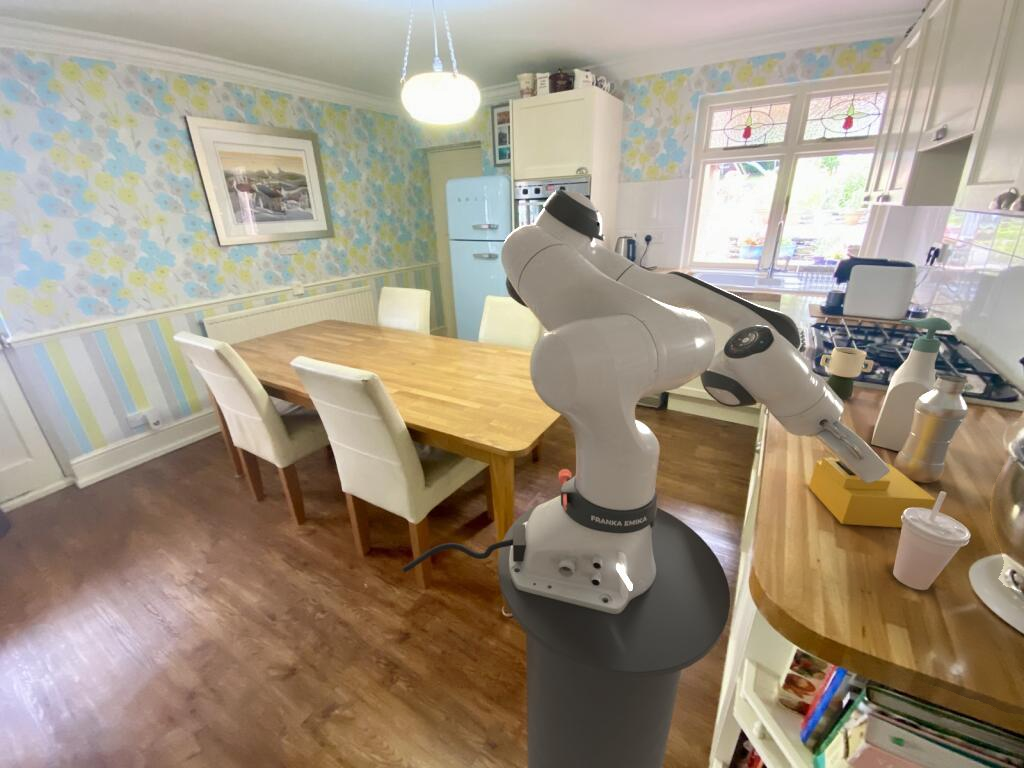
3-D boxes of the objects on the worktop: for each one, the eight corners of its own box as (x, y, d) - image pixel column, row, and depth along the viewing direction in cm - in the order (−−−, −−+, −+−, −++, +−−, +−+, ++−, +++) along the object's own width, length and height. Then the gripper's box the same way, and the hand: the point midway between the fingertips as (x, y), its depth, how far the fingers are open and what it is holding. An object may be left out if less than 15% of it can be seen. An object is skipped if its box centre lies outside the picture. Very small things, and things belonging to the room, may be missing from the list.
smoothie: (904, 557, 61) (939, 477, 56) (956, 593, 55) (1000, 507, 50) (868, 565, 60) (901, 484, 54) (917, 603, 54) (959, 515, 49)
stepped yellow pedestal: (839, 524, 68) (853, 485, 65) (807, 487, 77) (817, 451, 74) (923, 529, 66) (940, 489, 63) (879, 490, 75) (893, 455, 73)
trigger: (847, 483, 68) (850, 472, 67) (834, 470, 72) (837, 460, 71) (871, 484, 68) (875, 473, 67) (857, 471, 71) (860, 461, 70)
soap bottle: (865, 424, 98) (903, 309, 88) (911, 435, 93) (958, 314, 83) (860, 442, 91) (901, 319, 81) (910, 455, 86) (961, 325, 76)
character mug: (860, 395, 114) (874, 350, 109) (862, 405, 108) (878, 357, 103) (812, 388, 119) (824, 344, 114) (812, 396, 114) (824, 351, 109)
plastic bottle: (942, 491, 75) (987, 389, 67) (893, 480, 78) (931, 381, 71) (932, 473, 80) (974, 376, 72) (887, 464, 83) (922, 370, 76)
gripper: (870, 426, 56) (925, 491, 58) (793, 373, 74) (837, 423, 77) (825, 454, 58) (881, 515, 60) (761, 395, 77) (806, 443, 79)
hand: (856, 463), depth 69 cm, fingers closed, pressing on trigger
